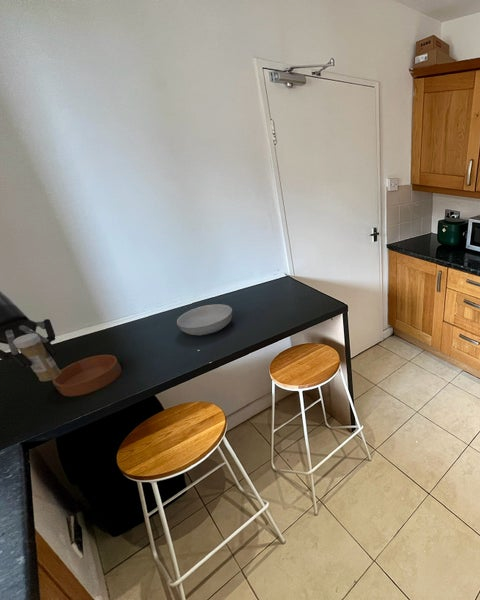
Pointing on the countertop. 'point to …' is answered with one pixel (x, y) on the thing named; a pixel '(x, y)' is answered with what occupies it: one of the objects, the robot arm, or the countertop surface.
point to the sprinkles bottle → (37, 356)
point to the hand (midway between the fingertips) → (42, 359)
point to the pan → (87, 375)
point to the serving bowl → (205, 319)
